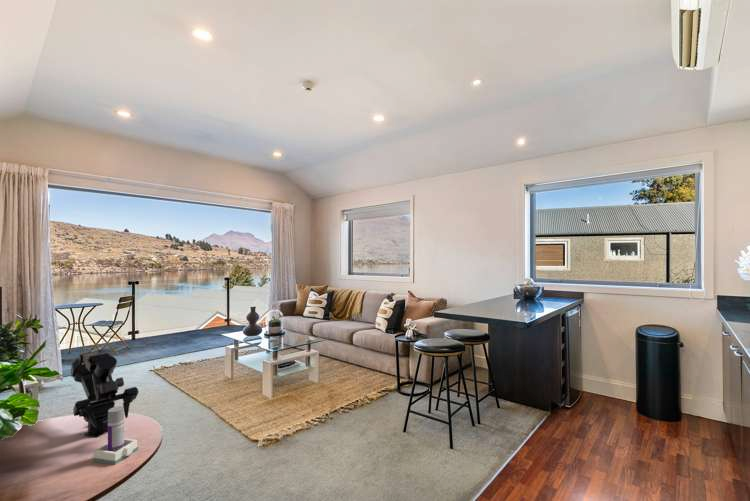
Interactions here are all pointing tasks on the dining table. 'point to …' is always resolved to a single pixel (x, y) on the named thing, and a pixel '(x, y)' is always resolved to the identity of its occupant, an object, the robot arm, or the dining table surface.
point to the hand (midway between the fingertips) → (111, 422)
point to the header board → (115, 457)
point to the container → (115, 428)
